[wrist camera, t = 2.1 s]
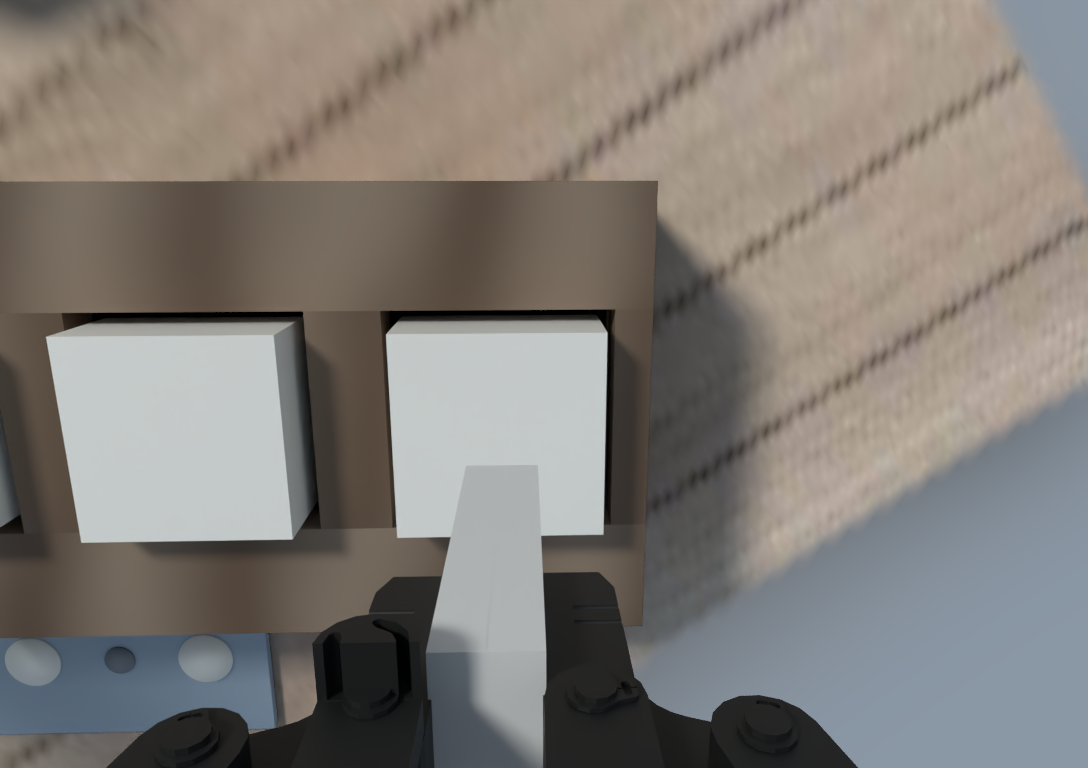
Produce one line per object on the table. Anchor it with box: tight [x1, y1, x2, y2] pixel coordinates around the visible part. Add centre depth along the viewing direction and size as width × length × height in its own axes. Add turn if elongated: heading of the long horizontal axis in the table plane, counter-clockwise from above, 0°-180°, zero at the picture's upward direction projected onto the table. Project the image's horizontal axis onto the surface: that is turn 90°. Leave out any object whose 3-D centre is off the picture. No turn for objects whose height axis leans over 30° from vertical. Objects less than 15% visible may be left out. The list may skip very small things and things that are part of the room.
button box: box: [0, 181, 658, 638], centre depth 25 cm, size 27×14×6 cm, turn 90°
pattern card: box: [0, 633, 278, 735], centre depth 31 cm, size 12×7×1 cm, turn 90°
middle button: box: [46, 317, 319, 543], centre depth 22 cm, size 6×6×3 cm
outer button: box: [386, 315, 607, 538], centre depth 23 cm, size 6×6×3 cm
